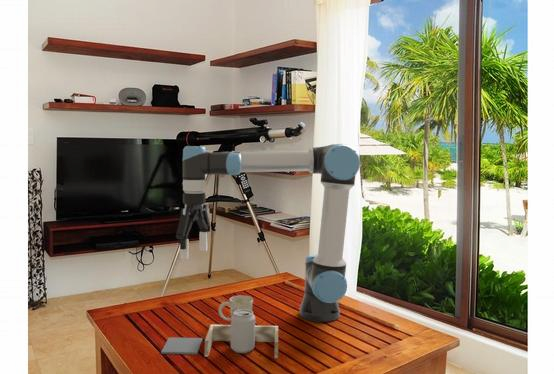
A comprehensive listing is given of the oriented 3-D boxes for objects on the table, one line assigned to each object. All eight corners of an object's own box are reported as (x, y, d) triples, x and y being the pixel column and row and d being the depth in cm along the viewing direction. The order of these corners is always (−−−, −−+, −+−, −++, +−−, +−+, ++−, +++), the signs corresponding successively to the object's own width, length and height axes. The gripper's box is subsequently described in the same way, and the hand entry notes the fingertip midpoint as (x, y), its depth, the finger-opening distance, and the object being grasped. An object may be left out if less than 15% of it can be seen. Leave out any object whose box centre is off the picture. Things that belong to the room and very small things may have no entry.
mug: (249, 332, 164) (249, 303, 163) (214, 328, 166) (214, 300, 166) (255, 323, 172) (255, 296, 171) (221, 320, 174) (221, 293, 174)
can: (245, 356, 145) (246, 317, 144) (225, 350, 149) (226, 312, 148) (259, 347, 151) (260, 310, 150) (240, 342, 155) (240, 306, 154)
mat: (202, 339, 157) (202, 338, 157) (197, 354, 146) (197, 352, 146) (168, 339, 157) (168, 337, 157) (160, 353, 146) (160, 351, 146)
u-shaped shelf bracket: (277, 340, 157) (278, 325, 157) (277, 358, 144) (278, 342, 144) (210, 339, 157) (210, 324, 157) (204, 356, 144) (204, 340, 144)
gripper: (201, 188, 174) (201, 246, 176) (164, 195, 151) (165, 261, 152) (220, 189, 172) (219, 247, 174) (185, 196, 148) (186, 263, 150)
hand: (194, 254), depth 163 cm, fingers open, 13 cm apart
